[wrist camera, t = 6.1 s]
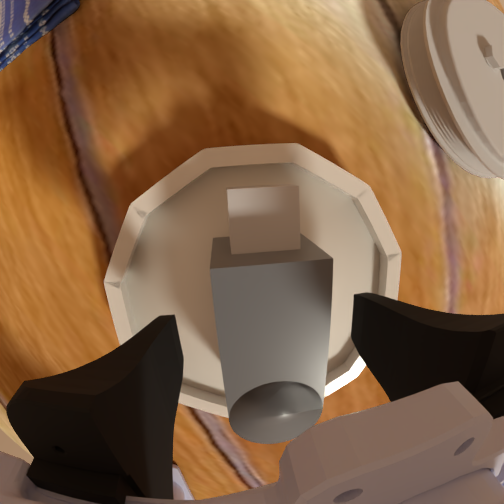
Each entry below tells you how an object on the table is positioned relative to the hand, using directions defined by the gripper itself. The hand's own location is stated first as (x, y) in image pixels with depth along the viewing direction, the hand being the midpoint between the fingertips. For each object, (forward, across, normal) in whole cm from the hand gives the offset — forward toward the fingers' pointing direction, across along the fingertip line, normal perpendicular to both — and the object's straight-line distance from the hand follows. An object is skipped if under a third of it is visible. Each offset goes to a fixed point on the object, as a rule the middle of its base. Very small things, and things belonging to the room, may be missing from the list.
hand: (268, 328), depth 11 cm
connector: (+3, 0, 0) cm, 3 cm away
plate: (+4, 0, 0) cm, 4 cm away
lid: (+4, -15, -12) cm, 20 cm away
